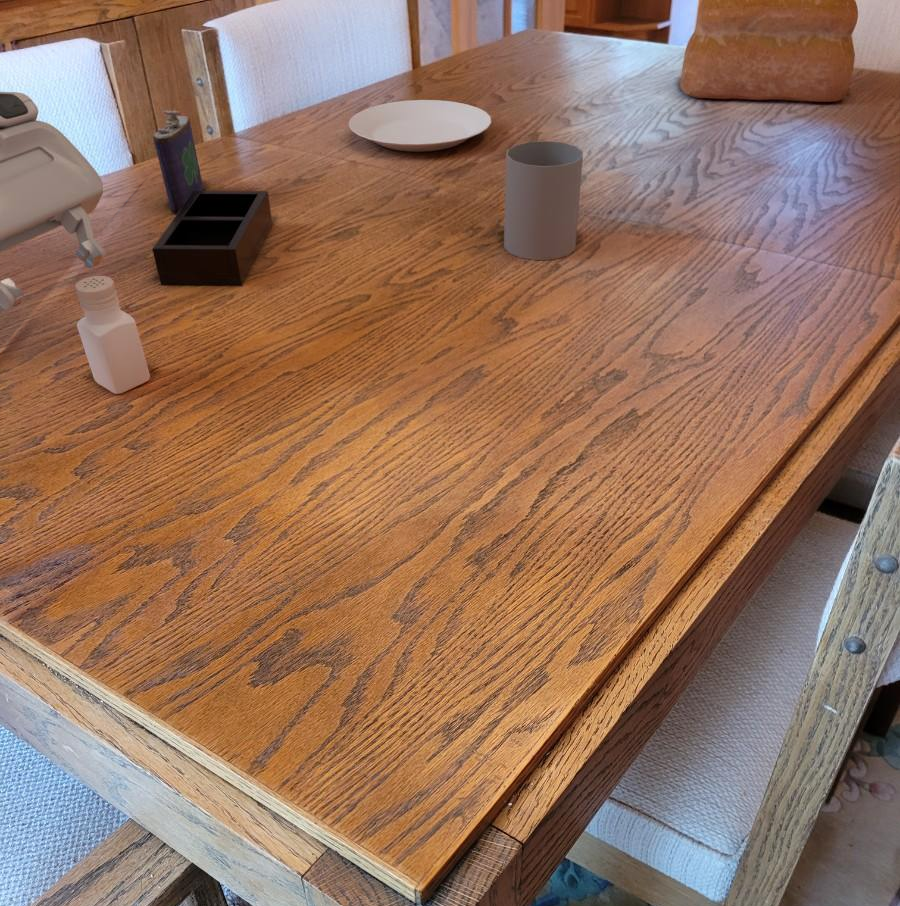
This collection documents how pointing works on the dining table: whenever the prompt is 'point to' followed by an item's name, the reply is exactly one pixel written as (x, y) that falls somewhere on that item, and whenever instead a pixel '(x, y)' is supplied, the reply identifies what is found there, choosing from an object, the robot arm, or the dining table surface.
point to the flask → (178, 160)
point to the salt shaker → (110, 337)
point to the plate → (420, 124)
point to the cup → (542, 199)
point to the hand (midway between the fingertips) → (58, 282)
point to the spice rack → (213, 238)
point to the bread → (771, 50)
